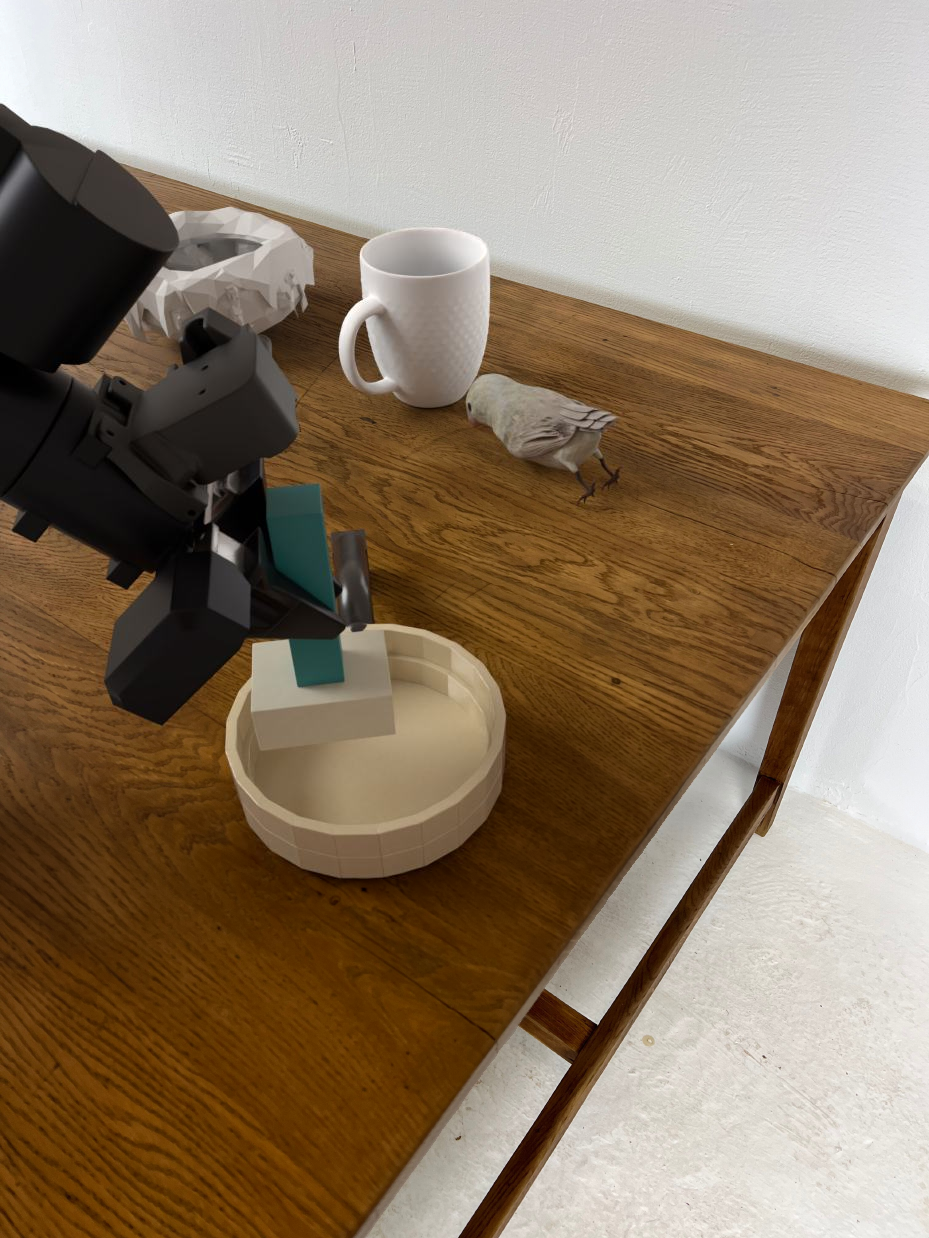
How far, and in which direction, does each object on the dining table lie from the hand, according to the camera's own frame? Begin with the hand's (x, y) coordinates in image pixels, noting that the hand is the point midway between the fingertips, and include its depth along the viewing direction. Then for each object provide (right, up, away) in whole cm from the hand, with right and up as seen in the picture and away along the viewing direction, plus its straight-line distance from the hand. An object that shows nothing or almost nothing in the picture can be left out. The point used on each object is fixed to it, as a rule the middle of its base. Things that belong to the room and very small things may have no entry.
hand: (338, 612), depth 46 cm
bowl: (-19, +29, +51) cm, 62 cm away
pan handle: (-1, -1, +17) cm, 17 cm away
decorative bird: (+12, +13, +32) cm, 37 cm away
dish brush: (-1, -5, +4) cm, 7 cm away
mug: (+2, +20, +41) cm, 46 cm away
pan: (+1, -9, +8) cm, 12 cm away
